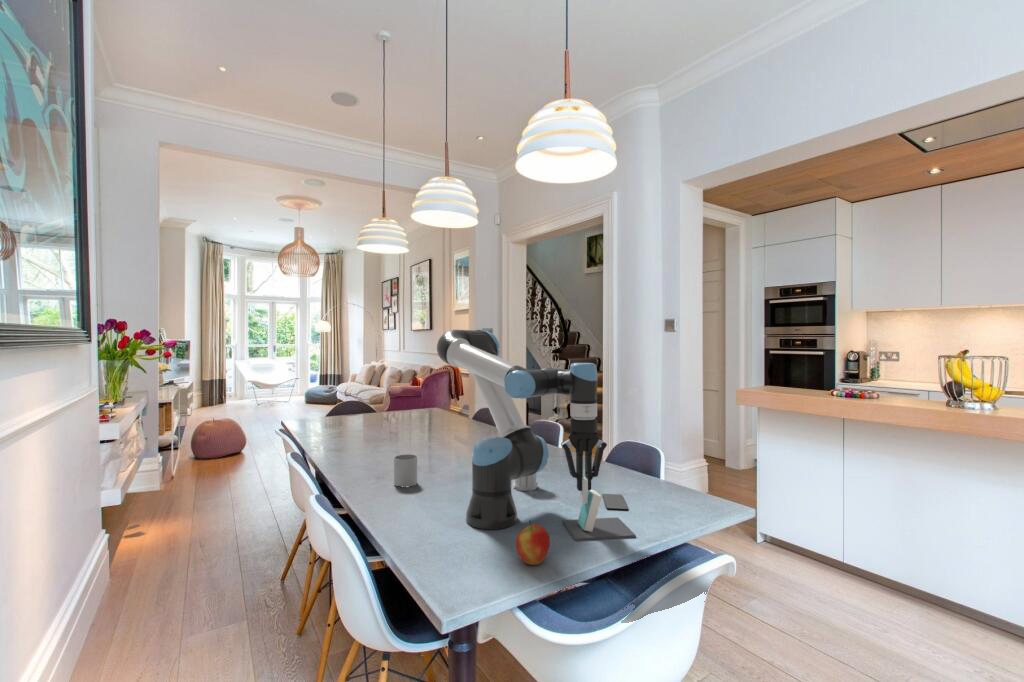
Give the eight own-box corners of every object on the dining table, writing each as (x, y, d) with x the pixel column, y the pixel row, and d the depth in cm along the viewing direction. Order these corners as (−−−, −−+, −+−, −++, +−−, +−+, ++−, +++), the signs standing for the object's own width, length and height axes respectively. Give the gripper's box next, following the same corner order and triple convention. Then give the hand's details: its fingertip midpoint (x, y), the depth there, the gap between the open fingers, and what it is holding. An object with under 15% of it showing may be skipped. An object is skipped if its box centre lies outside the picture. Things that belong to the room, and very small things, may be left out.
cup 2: (505, 486, 172) (505, 453, 172) (523, 481, 178) (523, 449, 178) (524, 493, 164) (525, 458, 164) (543, 487, 170) (543, 454, 170)
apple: (543, 573, 107) (544, 529, 107) (510, 566, 110) (511, 524, 110) (553, 558, 115) (554, 517, 115) (522, 552, 118) (523, 512, 118)
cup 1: (411, 488, 169) (412, 460, 169) (390, 486, 170) (390, 459, 170) (420, 481, 177) (420, 454, 177) (399, 480, 179) (399, 453, 179)
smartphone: (622, 494, 163) (628, 509, 148) (622, 496, 163) (628, 512, 148) (601, 493, 163) (606, 508, 148) (601, 496, 163) (606, 510, 148)
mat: (575, 540, 125) (575, 538, 125) (562, 522, 138) (562, 520, 138) (635, 537, 128) (635, 535, 128) (617, 519, 140) (618, 517, 140)
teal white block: (583, 529, 129) (592, 494, 129) (577, 522, 134) (586, 488, 135) (592, 532, 129) (601, 496, 130) (586, 524, 135) (595, 490, 135)
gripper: (564, 420, 127) (564, 507, 127) (610, 419, 129) (610, 505, 129) (558, 416, 135) (558, 498, 135) (601, 415, 137) (602, 496, 136)
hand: (584, 501), depth 132 cm, fingers closed
